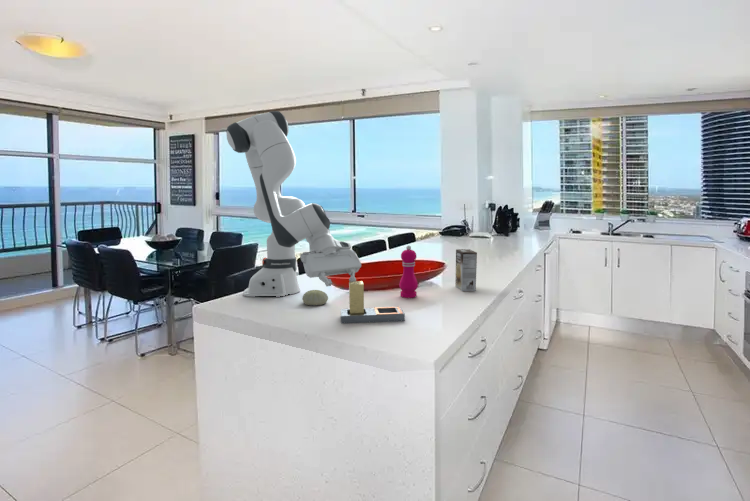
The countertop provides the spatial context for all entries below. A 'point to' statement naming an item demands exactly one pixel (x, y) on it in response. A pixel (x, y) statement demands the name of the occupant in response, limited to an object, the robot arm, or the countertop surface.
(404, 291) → the pepper mill
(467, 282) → the coffee box
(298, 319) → the countertop surface
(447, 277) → the countertop surface
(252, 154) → the robot arm
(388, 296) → the countertop surface
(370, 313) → the grey slotted board
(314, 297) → the sea urchin shell
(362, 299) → the brass block
